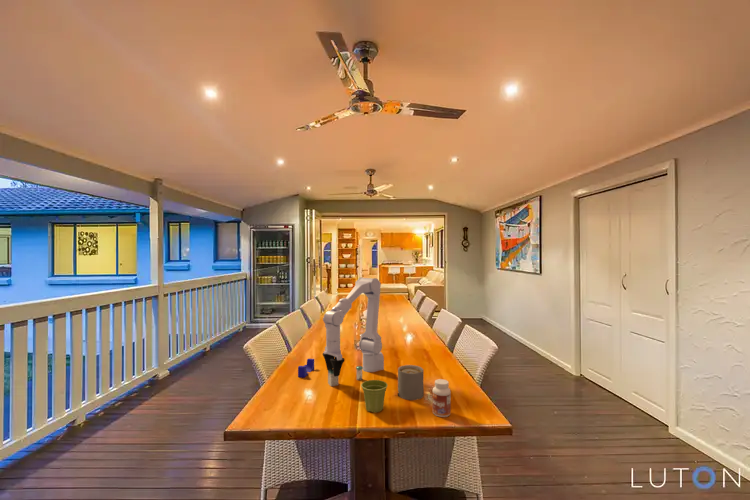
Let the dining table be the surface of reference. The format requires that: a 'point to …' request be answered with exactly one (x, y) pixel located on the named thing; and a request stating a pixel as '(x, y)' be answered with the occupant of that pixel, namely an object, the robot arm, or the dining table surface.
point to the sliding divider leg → (332, 378)
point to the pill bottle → (441, 398)
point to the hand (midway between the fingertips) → (333, 372)
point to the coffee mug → (410, 382)
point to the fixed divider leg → (359, 372)
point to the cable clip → (306, 368)
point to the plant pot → (374, 394)
